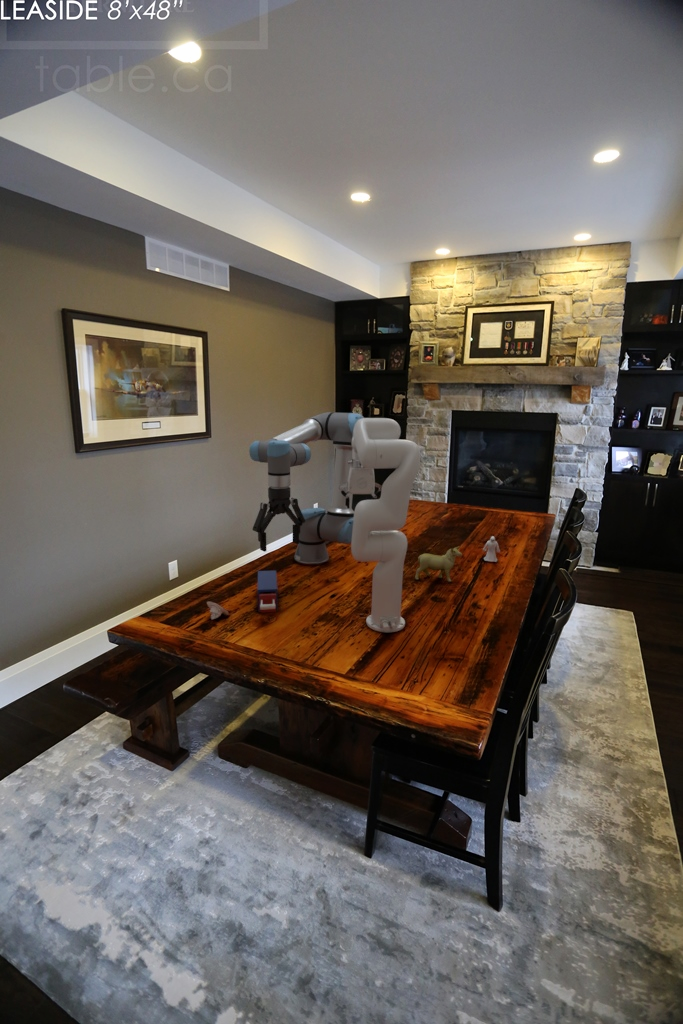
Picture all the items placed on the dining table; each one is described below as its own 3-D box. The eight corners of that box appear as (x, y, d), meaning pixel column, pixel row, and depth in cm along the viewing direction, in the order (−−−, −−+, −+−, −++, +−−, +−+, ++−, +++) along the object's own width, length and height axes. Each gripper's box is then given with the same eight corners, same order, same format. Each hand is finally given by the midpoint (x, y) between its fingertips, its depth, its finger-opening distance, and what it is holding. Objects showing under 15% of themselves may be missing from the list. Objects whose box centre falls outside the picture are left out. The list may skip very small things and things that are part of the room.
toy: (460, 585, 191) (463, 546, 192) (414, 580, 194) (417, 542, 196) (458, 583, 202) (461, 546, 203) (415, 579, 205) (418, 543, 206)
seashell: (213, 627, 166) (197, 609, 165) (224, 617, 169) (208, 599, 168) (221, 623, 159) (205, 604, 159) (233, 612, 163) (217, 594, 162)
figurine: (481, 562, 222) (483, 536, 219) (482, 556, 230) (484, 531, 227) (499, 564, 220) (501, 538, 217) (499, 558, 228) (501, 533, 225)
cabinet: (277, 611, 171) (277, 589, 169) (257, 612, 170) (257, 589, 168) (276, 590, 188) (276, 570, 186) (258, 591, 186) (257, 571, 185)
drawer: (276, 620, 162) (276, 602, 160) (259, 620, 161) (259, 603, 160) (274, 592, 184) (274, 576, 182) (259, 593, 183) (259, 577, 181)
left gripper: (302, 481, 179) (302, 537, 185) (241, 489, 163) (242, 550, 169) (315, 484, 174) (314, 542, 179) (253, 493, 158) (254, 556, 163)
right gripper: (339, 465, 186) (338, 509, 190) (385, 465, 187) (383, 510, 191) (338, 462, 193) (337, 505, 198) (382, 462, 194) (381, 505, 199)
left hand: (279, 546), depth 174 cm, fingers open, 13 cm apart
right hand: (360, 507), depth 194 cm, fingers open, 9 cm apart
